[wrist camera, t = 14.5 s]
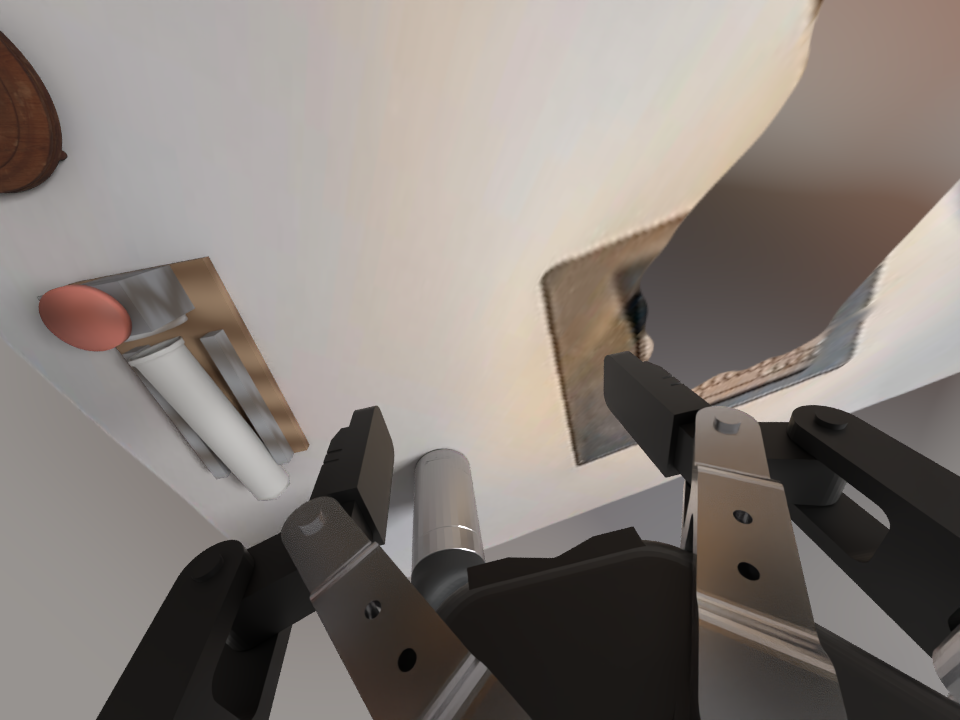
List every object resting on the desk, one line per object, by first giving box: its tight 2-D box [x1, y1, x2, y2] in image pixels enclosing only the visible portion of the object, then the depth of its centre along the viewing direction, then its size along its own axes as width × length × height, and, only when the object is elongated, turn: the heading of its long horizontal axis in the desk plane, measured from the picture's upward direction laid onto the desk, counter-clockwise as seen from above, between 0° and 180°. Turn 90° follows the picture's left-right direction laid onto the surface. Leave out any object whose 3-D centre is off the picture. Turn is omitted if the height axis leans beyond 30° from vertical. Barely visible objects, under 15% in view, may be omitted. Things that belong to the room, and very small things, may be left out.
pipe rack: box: [37, 256, 309, 479], centre depth 40 cm, size 28×14×10 cm, turn 10°
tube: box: [128, 336, 290, 501], centre depth 44 cm, size 5×5×25 cm
